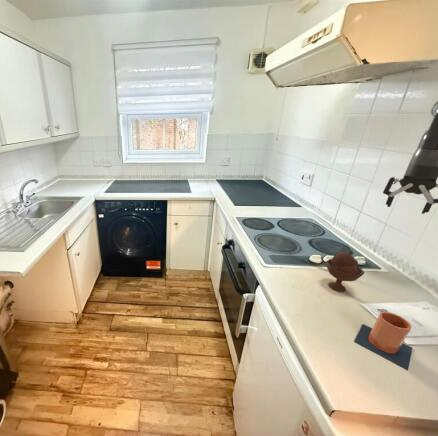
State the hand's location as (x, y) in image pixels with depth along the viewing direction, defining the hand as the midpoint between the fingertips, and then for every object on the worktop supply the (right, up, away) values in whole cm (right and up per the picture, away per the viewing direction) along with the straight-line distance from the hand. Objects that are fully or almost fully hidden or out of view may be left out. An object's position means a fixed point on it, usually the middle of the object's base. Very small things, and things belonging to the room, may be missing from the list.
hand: (405, 209), depth 83 cm
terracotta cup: (-24, -39, -16) cm, 48 cm away
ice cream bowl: (-18, -30, +8) cm, 36 cm away
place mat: (-24, -39, -16) cm, 48 cm away
